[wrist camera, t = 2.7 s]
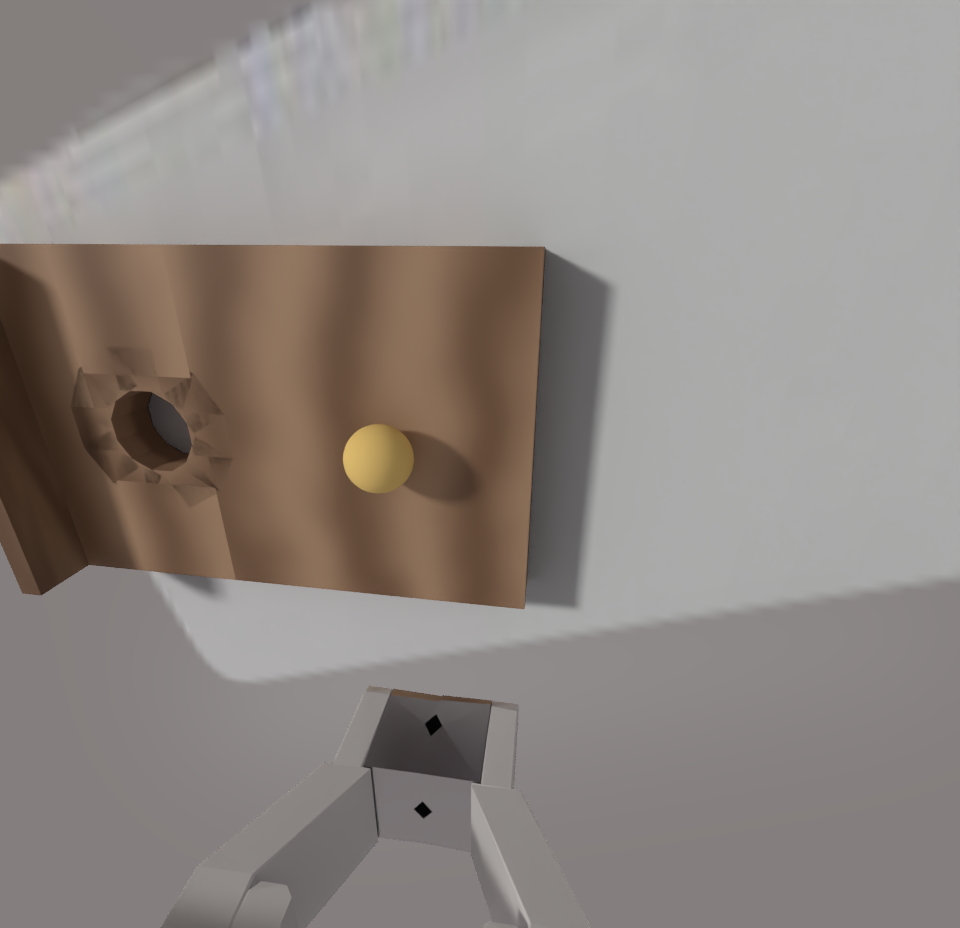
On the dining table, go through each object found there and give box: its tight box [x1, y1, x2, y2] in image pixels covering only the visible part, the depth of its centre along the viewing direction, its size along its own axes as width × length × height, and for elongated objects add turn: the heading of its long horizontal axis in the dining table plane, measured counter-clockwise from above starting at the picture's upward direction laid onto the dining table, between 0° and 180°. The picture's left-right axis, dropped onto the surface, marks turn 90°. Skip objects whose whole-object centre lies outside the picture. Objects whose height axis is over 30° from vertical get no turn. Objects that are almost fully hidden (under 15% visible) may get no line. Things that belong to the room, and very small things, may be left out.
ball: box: [343, 424, 414, 493], centre depth 22 cm, size 3×3×3 cm
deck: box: [0, 244, 545, 609], centre depth 24 cm, size 28×18×6 cm, turn 89°
